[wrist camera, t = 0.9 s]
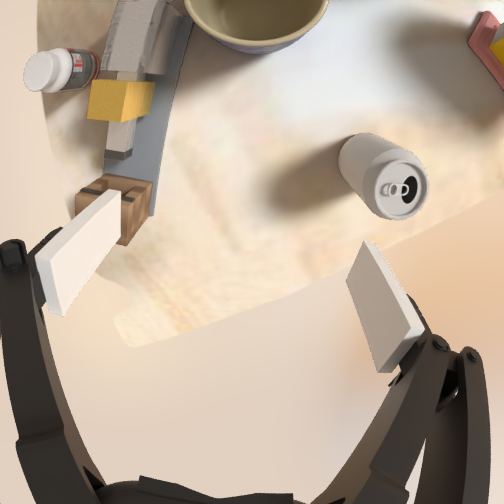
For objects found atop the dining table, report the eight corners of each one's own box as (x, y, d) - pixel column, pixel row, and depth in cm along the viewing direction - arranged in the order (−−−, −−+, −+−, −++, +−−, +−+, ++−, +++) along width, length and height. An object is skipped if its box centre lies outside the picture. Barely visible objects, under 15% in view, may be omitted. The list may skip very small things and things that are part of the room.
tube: (152, -16, 21) (126, -37, 14) (184, -15, 22) (164, -39, 15) (114, 148, 32) (82, 165, 26) (142, 153, 33) (114, 171, 26)
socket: (108, 170, 36) (75, 193, 28) (154, 179, 37) (128, 205, 29) (106, 204, 38) (76, 233, 31) (150, 213, 39) (126, 246, 32)
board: (134, 14, 25) (133, 13, 24) (194, 18, 26) (193, 17, 25) (103, 203, 38) (102, 205, 38) (153, 214, 39) (152, 216, 39)
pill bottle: (97, 43, 26) (53, 37, 18) (104, 80, 29) (60, 82, 21) (64, 60, 27) (17, 62, 18) (70, 95, 30) (24, 104, 21)
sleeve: (144, 14, 25) (118, 1, 18) (184, 17, 26) (166, 1, 19) (128, 71, 29) (99, 70, 22) (168, 75, 30) (145, 73, 23)
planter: (288, 74, 30) (302, 66, 20) (189, 44, 28) (161, 28, 18) (323, -7, 23) (347, -38, 14) (225, -36, 22) (213, -75, 12)
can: (385, 188, 37) (426, 228, 26) (333, 184, 37) (362, 225, 26) (392, 135, 33) (441, 158, 22) (338, 128, 33) (374, 147, 23)
